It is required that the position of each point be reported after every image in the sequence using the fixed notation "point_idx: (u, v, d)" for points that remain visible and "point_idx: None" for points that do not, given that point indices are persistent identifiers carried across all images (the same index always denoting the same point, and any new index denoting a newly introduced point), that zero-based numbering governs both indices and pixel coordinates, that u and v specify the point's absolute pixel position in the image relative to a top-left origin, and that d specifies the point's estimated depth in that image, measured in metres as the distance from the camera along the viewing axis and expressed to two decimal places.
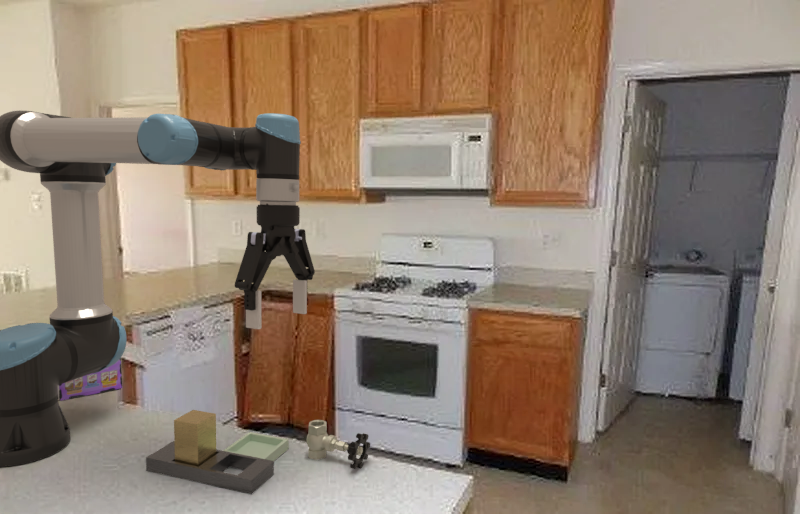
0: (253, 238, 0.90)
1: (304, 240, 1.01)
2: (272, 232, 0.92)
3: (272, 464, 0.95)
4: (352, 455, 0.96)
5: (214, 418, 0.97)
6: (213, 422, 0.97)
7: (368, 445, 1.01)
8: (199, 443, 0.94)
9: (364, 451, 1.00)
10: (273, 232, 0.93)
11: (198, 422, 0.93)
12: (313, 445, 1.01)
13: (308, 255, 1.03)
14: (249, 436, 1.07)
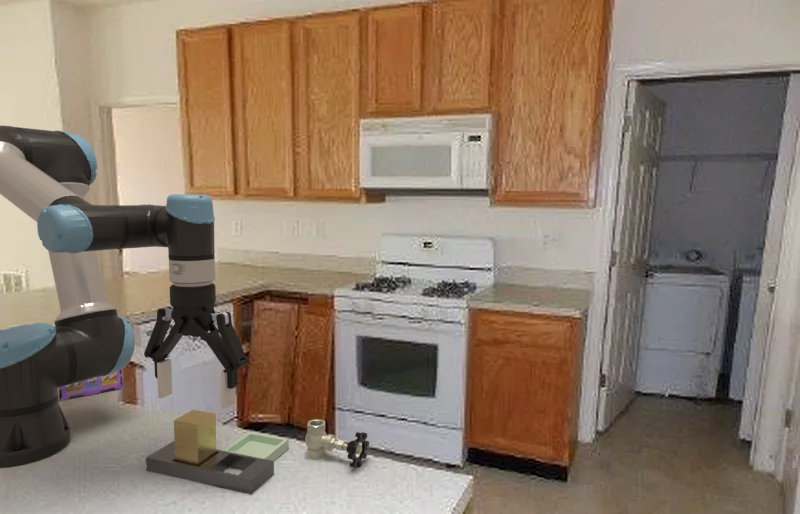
0: None
1: (220, 326, 0.91)
2: (174, 310, 0.94)
3: (272, 464, 0.95)
4: (352, 454, 0.96)
5: (214, 418, 0.97)
6: (213, 422, 0.97)
7: (367, 444, 1.01)
8: (199, 443, 0.94)
9: (363, 450, 1.01)
10: (176, 311, 0.93)
11: (198, 422, 0.93)
12: (312, 444, 1.01)
13: (228, 344, 0.91)
14: (249, 436, 1.07)
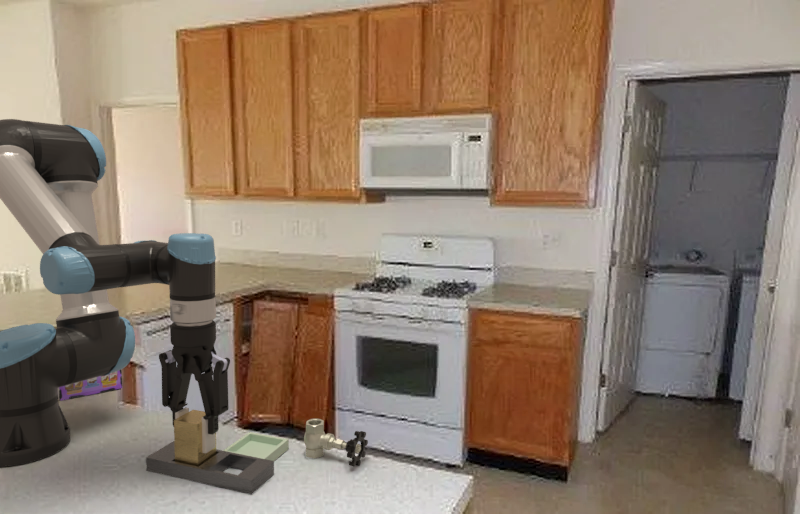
0: None
1: (216, 373, 0.92)
2: (173, 348, 0.94)
3: (272, 464, 0.95)
4: (351, 453, 0.97)
5: None
6: None
7: (366, 442, 1.02)
8: (199, 443, 0.94)
9: (362, 448, 1.01)
10: (174, 348, 0.94)
11: (198, 422, 0.93)
12: (311, 443, 1.01)
13: (216, 391, 0.92)
14: (249, 436, 1.07)
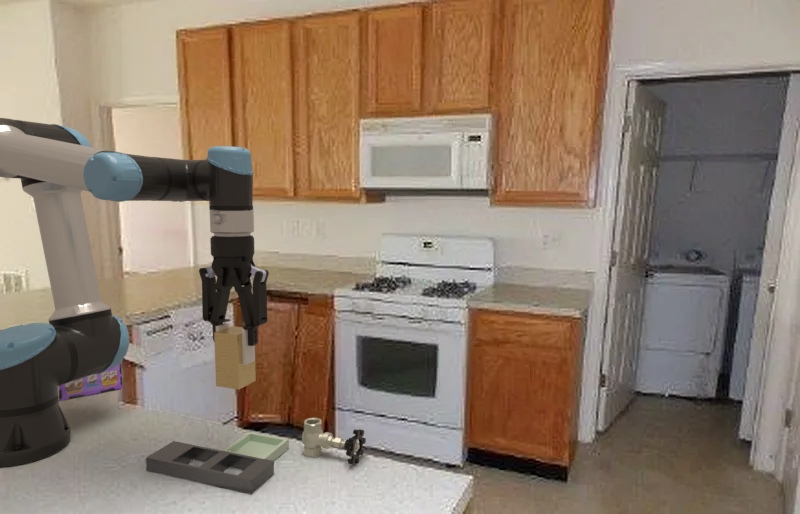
0: None
1: (256, 283, 0.93)
2: (213, 262, 0.96)
3: (272, 464, 0.95)
4: (350, 451, 0.98)
5: None
6: None
7: (364, 441, 1.03)
8: (239, 354, 0.95)
9: (360, 447, 1.02)
10: (214, 261, 0.96)
11: (238, 333, 0.95)
12: (309, 443, 1.02)
13: (256, 301, 0.94)
14: (249, 436, 1.07)
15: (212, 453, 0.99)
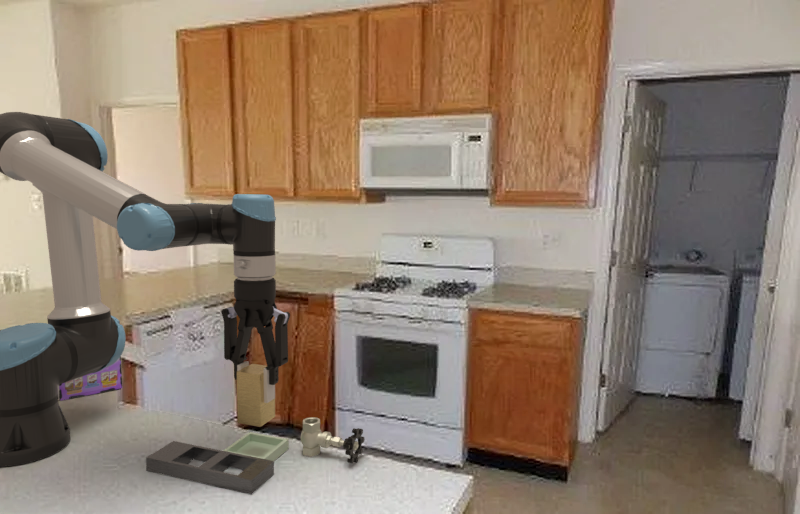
0: None
1: (278, 325, 0.97)
2: (236, 303, 1.00)
3: (272, 464, 0.95)
4: (349, 450, 0.98)
5: None
6: None
7: (363, 439, 1.03)
8: (261, 393, 0.99)
9: (359, 445, 1.02)
10: (237, 303, 0.99)
11: (260, 373, 0.98)
12: (308, 442, 1.02)
13: (278, 343, 0.97)
14: (249, 436, 1.07)
15: (212, 453, 0.99)
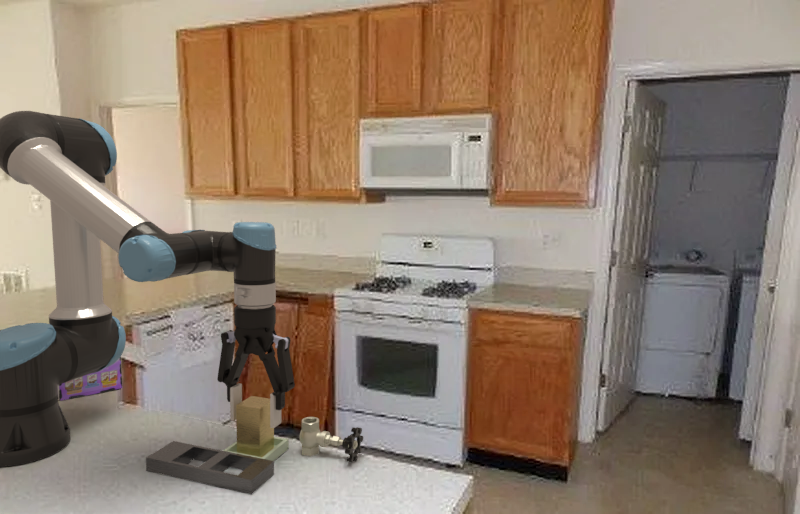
0: None
1: (280, 351, 0.97)
2: (236, 330, 1.00)
3: (272, 464, 0.95)
4: (349, 449, 0.98)
5: None
6: None
7: (361, 438, 1.04)
8: (261, 426, 0.99)
9: (358, 444, 1.03)
10: (238, 330, 1.00)
11: (260, 407, 0.99)
12: (307, 441, 1.02)
13: (282, 368, 0.98)
14: None
15: (212, 453, 0.99)
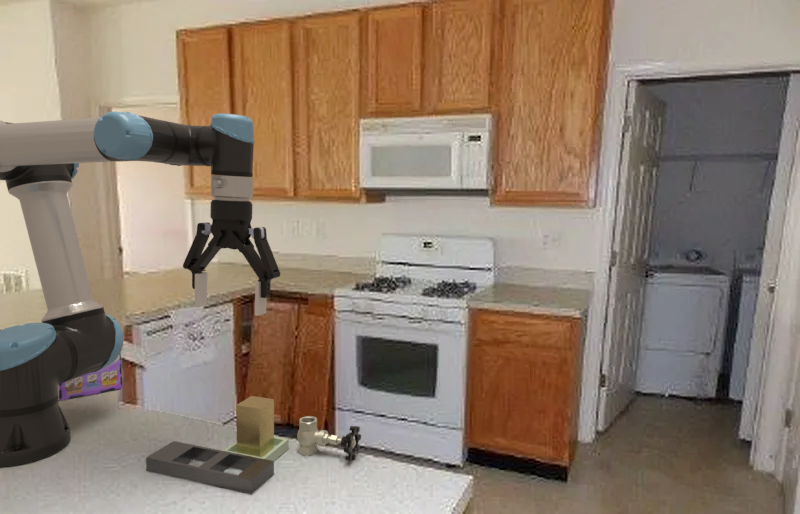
0: None
1: (257, 239, 0.98)
2: (214, 224, 1.01)
3: (272, 464, 0.95)
4: (348, 447, 0.99)
5: (272, 403, 1.03)
6: (271, 407, 1.03)
7: (359, 437, 1.04)
8: (261, 426, 0.99)
9: (356, 443, 1.03)
10: (215, 224, 1.01)
11: (260, 407, 0.99)
12: (305, 441, 1.03)
13: (263, 256, 0.98)
14: None
15: (212, 453, 0.99)
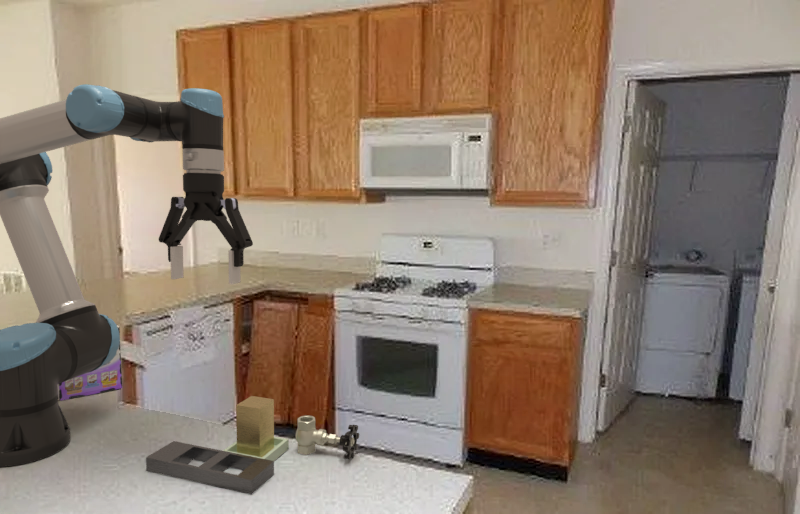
0: None
1: (228, 209, 1.01)
2: (187, 197, 1.04)
3: (272, 464, 0.95)
4: (347, 446, 0.99)
5: (272, 403, 1.03)
6: (271, 407, 1.03)
7: (358, 435, 1.05)
8: (261, 426, 0.99)
9: (355, 442, 1.04)
10: (188, 197, 1.04)
11: (260, 407, 0.99)
12: (304, 440, 1.03)
13: (235, 225, 1.01)
14: None
15: (212, 453, 0.99)
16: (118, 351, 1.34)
